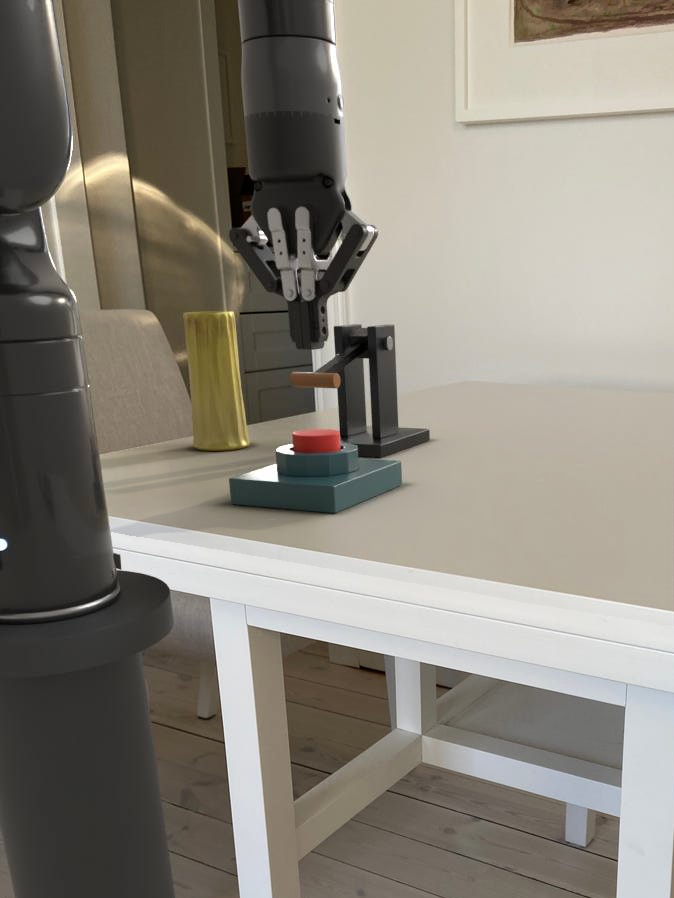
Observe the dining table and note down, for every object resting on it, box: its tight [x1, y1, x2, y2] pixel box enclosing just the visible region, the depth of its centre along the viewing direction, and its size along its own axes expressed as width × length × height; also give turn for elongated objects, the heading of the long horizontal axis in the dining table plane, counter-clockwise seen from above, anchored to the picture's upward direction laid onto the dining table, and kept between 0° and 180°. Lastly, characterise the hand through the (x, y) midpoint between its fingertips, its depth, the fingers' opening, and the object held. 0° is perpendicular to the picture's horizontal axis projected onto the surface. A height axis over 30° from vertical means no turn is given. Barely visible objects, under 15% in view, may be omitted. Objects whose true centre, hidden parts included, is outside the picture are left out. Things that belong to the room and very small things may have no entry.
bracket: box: [333, 323, 431, 459], centre depth 108 cm, size 12×9×13 cm
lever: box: [289, 327, 369, 389], centre depth 102 cm, size 13×5×2 cm, turn 158°
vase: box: [182, 310, 251, 452], centre depth 108 cm, size 6×6×14 cm
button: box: [291, 428, 341, 453], centre depth 85 cm, size 4×4×2 cm
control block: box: [228, 442, 403, 514], centre depth 86 cm, size 12×10×4 cm
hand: (310, 348), depth 82 cm, fingers closed
